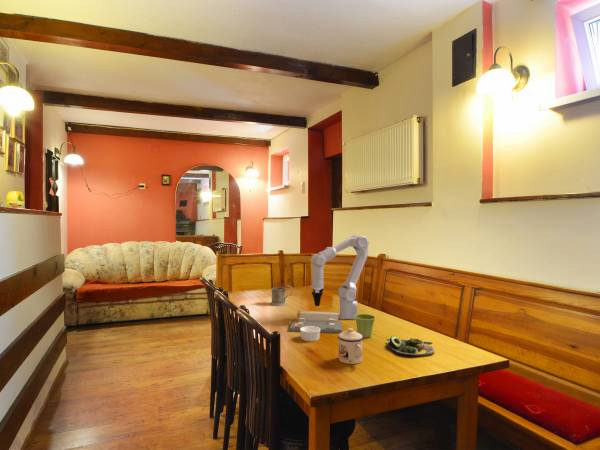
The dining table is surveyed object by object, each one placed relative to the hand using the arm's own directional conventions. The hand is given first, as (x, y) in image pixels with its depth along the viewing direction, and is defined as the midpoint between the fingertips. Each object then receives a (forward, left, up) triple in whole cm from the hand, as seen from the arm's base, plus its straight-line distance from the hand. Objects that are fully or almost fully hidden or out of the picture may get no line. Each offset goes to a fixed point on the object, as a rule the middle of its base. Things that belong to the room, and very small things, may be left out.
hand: (317, 304), depth 189 cm
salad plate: (-38, +38, -9) cm, 55 cm away
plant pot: (-22, +23, -9) cm, 33 cm away
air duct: (0, 0, -8) cm, 8 cm away
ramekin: (+2, +29, -9) cm, 30 cm away
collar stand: (0, +14, -8) cm, 16 cm away
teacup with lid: (-15, +53, -9) cm, 56 cm away
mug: (+23, -32, -9) cm, 40 cm away
